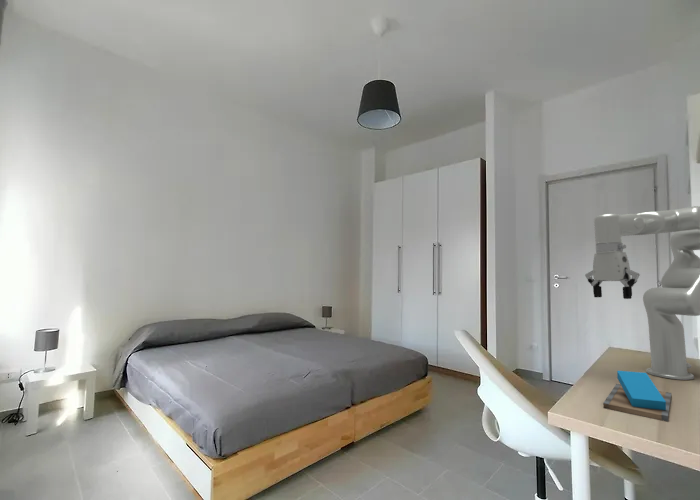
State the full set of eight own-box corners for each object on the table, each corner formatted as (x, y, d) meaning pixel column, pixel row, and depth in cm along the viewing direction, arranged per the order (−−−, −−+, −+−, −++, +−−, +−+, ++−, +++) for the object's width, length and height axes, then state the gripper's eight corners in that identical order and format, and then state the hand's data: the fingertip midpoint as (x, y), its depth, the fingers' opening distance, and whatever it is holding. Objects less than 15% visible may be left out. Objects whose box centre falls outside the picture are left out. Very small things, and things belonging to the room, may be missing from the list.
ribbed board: (616, 387, 111) (616, 383, 111) (671, 397, 102) (671, 392, 102) (603, 407, 94) (603, 402, 94) (668, 421, 85) (668, 416, 85)
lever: (665, 426, 89) (641, 387, 105) (665, 401, 88) (641, 366, 104) (632, 422, 92) (614, 385, 108) (632, 398, 91) (613, 364, 107)
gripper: (643, 247, 115) (647, 299, 113) (591, 251, 131) (594, 296, 130) (629, 246, 112) (632, 299, 111) (577, 250, 128) (580, 297, 127)
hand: (612, 297), depth 120 cm, fingers open, 9 cm apart
